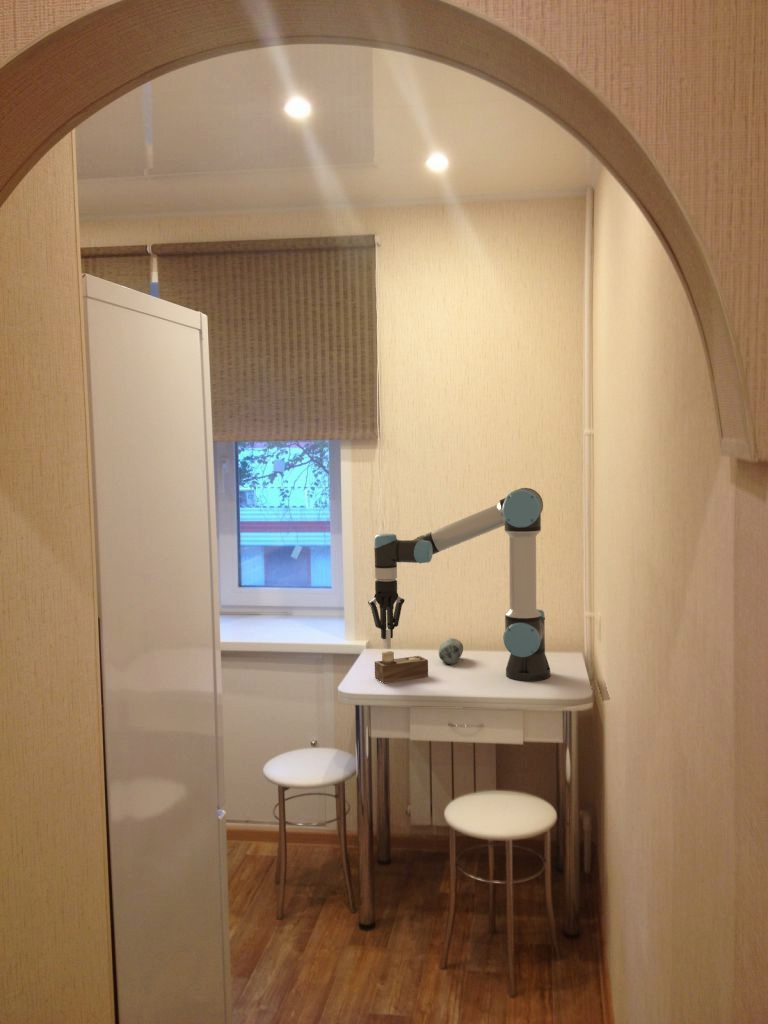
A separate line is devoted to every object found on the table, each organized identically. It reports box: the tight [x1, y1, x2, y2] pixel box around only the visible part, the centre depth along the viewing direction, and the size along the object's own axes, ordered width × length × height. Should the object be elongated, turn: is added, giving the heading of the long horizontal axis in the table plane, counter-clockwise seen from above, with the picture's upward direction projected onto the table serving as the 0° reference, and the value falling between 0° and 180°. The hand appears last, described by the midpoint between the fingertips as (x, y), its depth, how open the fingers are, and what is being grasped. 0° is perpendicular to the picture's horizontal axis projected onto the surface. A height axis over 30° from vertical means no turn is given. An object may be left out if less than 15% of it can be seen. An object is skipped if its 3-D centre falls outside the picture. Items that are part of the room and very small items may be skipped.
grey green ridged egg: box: [438, 637, 464, 665], centre depth 330 cm, size 14×10×10 cm
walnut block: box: [374, 655, 429, 684], centre depth 308 cm, size 7×17×6 cm, turn 115°
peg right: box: [409, 658, 420, 661], centre depth 310 cm, size 4×4×5 cm
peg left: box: [381, 650, 395, 665], centre depth 306 cm, size 4×4×5 cm
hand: (387, 647), depth 306 cm, fingers closed
